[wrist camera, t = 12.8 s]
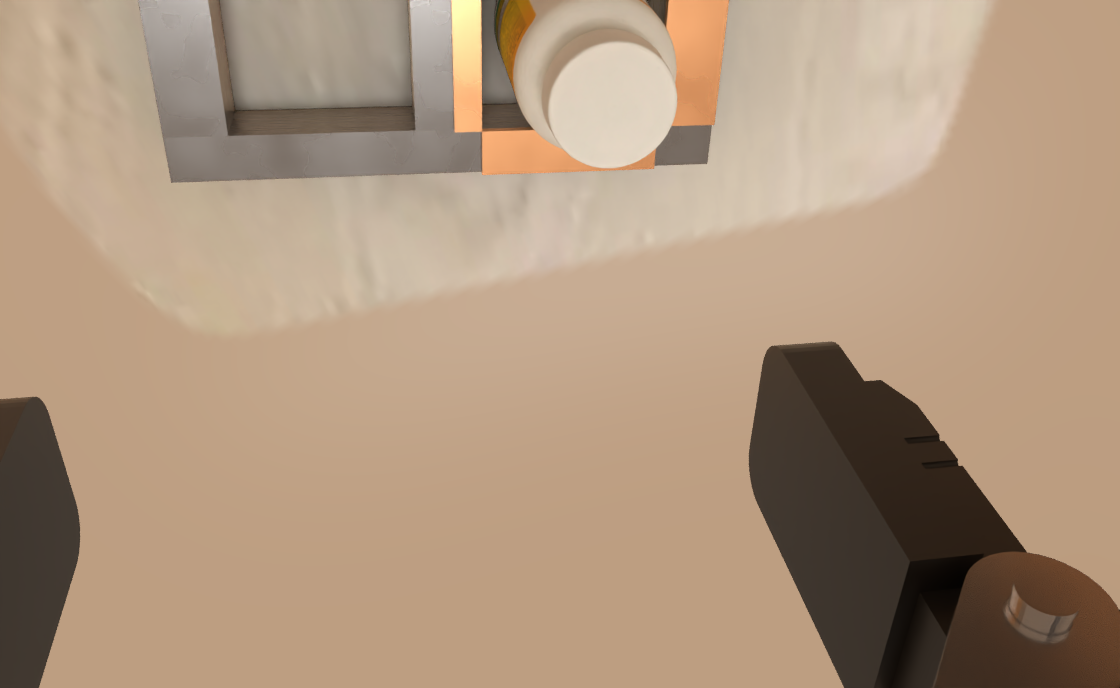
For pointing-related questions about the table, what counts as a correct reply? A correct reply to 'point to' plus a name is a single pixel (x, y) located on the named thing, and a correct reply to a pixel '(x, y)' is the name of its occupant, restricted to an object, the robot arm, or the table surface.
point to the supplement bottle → (590, 75)
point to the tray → (397, 132)
